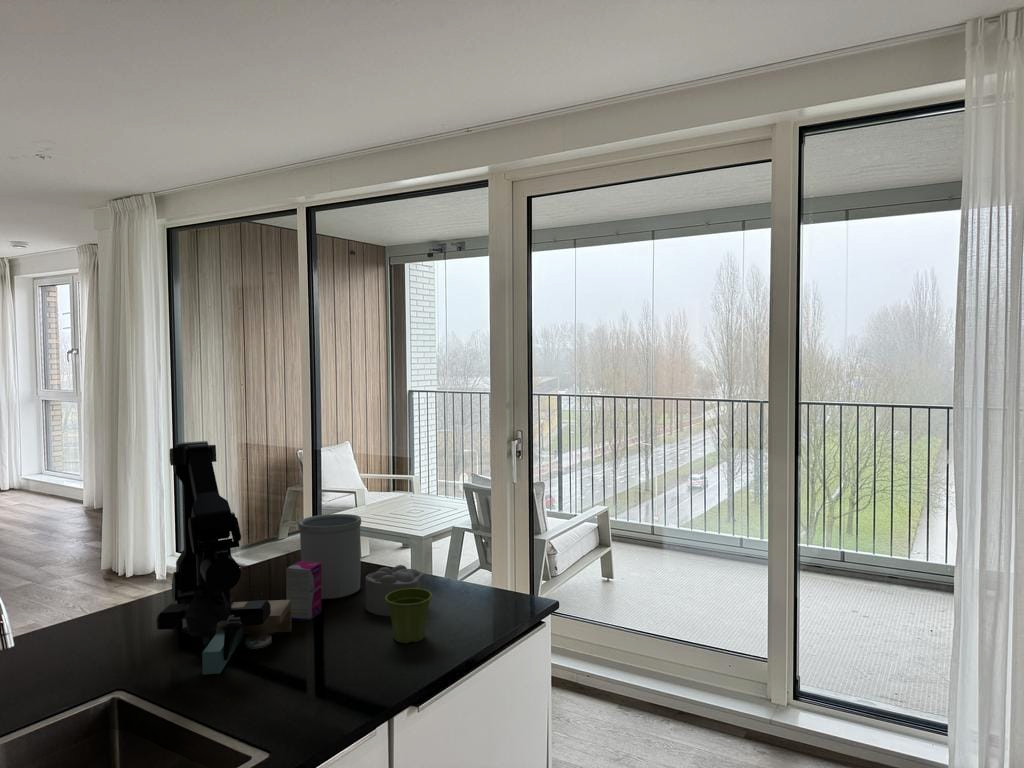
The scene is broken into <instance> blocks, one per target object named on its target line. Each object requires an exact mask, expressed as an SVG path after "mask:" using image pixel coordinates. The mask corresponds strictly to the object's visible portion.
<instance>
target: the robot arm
mask: <svg viewBox="0 0 1024 768" xmlns="http://www.w3.org/2000/svg"><path fill="white" fill-rule="evenodd" d="M216 462H217V447H216V444H209V442H208V440H201V441H188V442H186V441H185V442H176V443H175V446H174V447H172V448H169V463H170V466H173V468H172V469H173V472H174V474H175V475H176V476H177V478H178V479H179V481H180V482H181V490H182V491H181V494H182V495H181V497H182V501H181V502H182V530H183V531H182V533H183V536H182V537H183V550H182V551H181V554H179V557H178V558H177V559H176V561H175V562H176V563H175V571H172V572H173V573H172V580H171V594H172V597H173V598H172V599H173V600H174V602H176V601H177V602H176V603H173V604H171V603H170V604H169V605H168V606H166V607H165V608H164V609H162V611H161V612H159V613H158V615H157V617H156V629H157V630H162V631H163V630H174V629H180V631H181V632H182V633H187V634H188V635H190V636H191V638H192V639H193V640H194V642H195V644H196V645H197V647H198V649H199V652H200V654H201V655H202V652H203V651H204V650H205V648H206V647H207V646H208V644H209V643H210V632H211V631H213V630H216V626H217V623H220V621H228V623H227V624H226V625H225V627H224V628H223V632H224V660H227V659H228V657H229V654H230V651H231V648H232V645H233V642H234V639H235V636H236V634H237V632H238V630H239V629H241V628H242V626H243V625H245V626H249V625H261V624H263V623H264V622H265V621H266V619H267V618H268V617H269V615H270V614H271V607H270V603H269V602H268V601H269V600H265V599H261V600H248V601H246V602H247V603H246V605H245V606H244V607H237V608H232V606H231V605H232V604H233V602H234V598H233V597H232V589H233V588H234V587H236V585H237V584H238V582H239V581H240V578H241V573H242V572H241V571H242V570H241V568H240V565H239V564H238V562H237V561H236V560H235V559H234V558H233V556H232V550H231V549H235V548H239V547H240V541H241V540H242V533H241V529H240V524H239V519H238V517H236V514H235V512H234V511H233V512H232V510H231V507H230V504H229V500H227V499H225V498H224V497H222V495H220V493H219V488H218V484H217V479H216V475H215V470H214V465H213V464H214V463H216ZM230 536H231V537H232V538H230Z"/></svg>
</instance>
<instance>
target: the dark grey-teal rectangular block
mask: <svg viewBox="0 0 1024 768" xmlns="http://www.w3.org/2000/svg"><path fill="white" fill-rule="evenodd" d="M224 627H225V626H222V627H221V628H220V629H219V631H218V632H217V633H216V632H215V635H214V636H213V637H212V639H211V640H209V644H208V646H207V647H206V648H205V650H204V651H203V652H202V654H201V657H202V658H201V659H202V660H201V661H202V675H204V676H205V675H219V674H221V672H222V671H223V669H224V668H225V667H226V665H227V664H228V662H229V661H230V658H231V657H232V656H231V655H233V654H234V652H235V651H236V649H237V648H236V647H238V646H239V644H240V643H241V641H242V640H243V636H244V635H243V626H242V628H241V629H239V630H238V632H237V634H236V636H235V639H234V642H233V645H232V648H231V651H230V654H229V657H228V659H227V660H224V632H223V628H224ZM241 639H242V640H241ZM239 642H240V643H239Z"/></svg>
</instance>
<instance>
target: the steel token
mask: <svg viewBox="0 0 1024 768" xmlns="http://www.w3.org/2000/svg"><path fill="white" fill-rule="evenodd" d="M272 636H273V635H272V633H270V634H269V633H256V634H249V635H247V636H246V637H245V638H244V647H245V646H246V647H247V648H251V649H256V648H262V647H265V646H268V645H269V644H271V643H272V644H273V641H272V638H273V637H272ZM272 644H271V645H272ZM246 647H245V648H246ZM268 647H269V646H268ZM247 648H246V649H247ZM251 649H250V650H251ZM262 649H263V648H262ZM256 650H257V649H256Z"/></svg>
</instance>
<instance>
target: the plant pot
mask: <svg viewBox="0 0 1024 768" xmlns="http://www.w3.org/2000/svg"><path fill="white" fill-rule="evenodd" d="M432 598H433V594H432V592H431V591H430V590H428V589H426V588H424V589H420V588H405V589H399V590H395V591H392V592H390V593H389V594H387V595H386V597H385V599H386V601H387V602H388V607H389V608H390V614H391V616H390V619H391V625H392V631H393V638H394V641H396V642H398V643H402V644H409V643H412V642H413V643H417V642H420V641H422V640H424V638H425V636H426V629H427V628H426V627H427V618H428V610H429V606H430V603H431V599H432Z"/></svg>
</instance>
